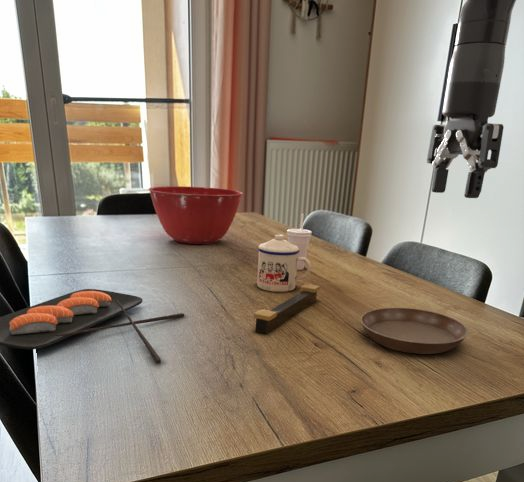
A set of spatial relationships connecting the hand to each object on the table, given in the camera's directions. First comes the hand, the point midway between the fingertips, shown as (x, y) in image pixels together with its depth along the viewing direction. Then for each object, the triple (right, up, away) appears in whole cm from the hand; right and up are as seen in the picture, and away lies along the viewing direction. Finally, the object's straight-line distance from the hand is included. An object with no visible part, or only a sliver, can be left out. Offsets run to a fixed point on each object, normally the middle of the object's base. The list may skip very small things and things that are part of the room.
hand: (453, 195), depth 82 cm
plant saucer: (-5, -23, +6) cm, 25 cm away
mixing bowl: (-52, +10, +81) cm, 96 cm away
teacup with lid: (-26, -11, +33) cm, 44 cm away
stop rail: (-26, -18, +15) cm, 35 cm away
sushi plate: (-57, -22, +2) cm, 61 cm away
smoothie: (-22, -4, +52) cm, 56 cm away
